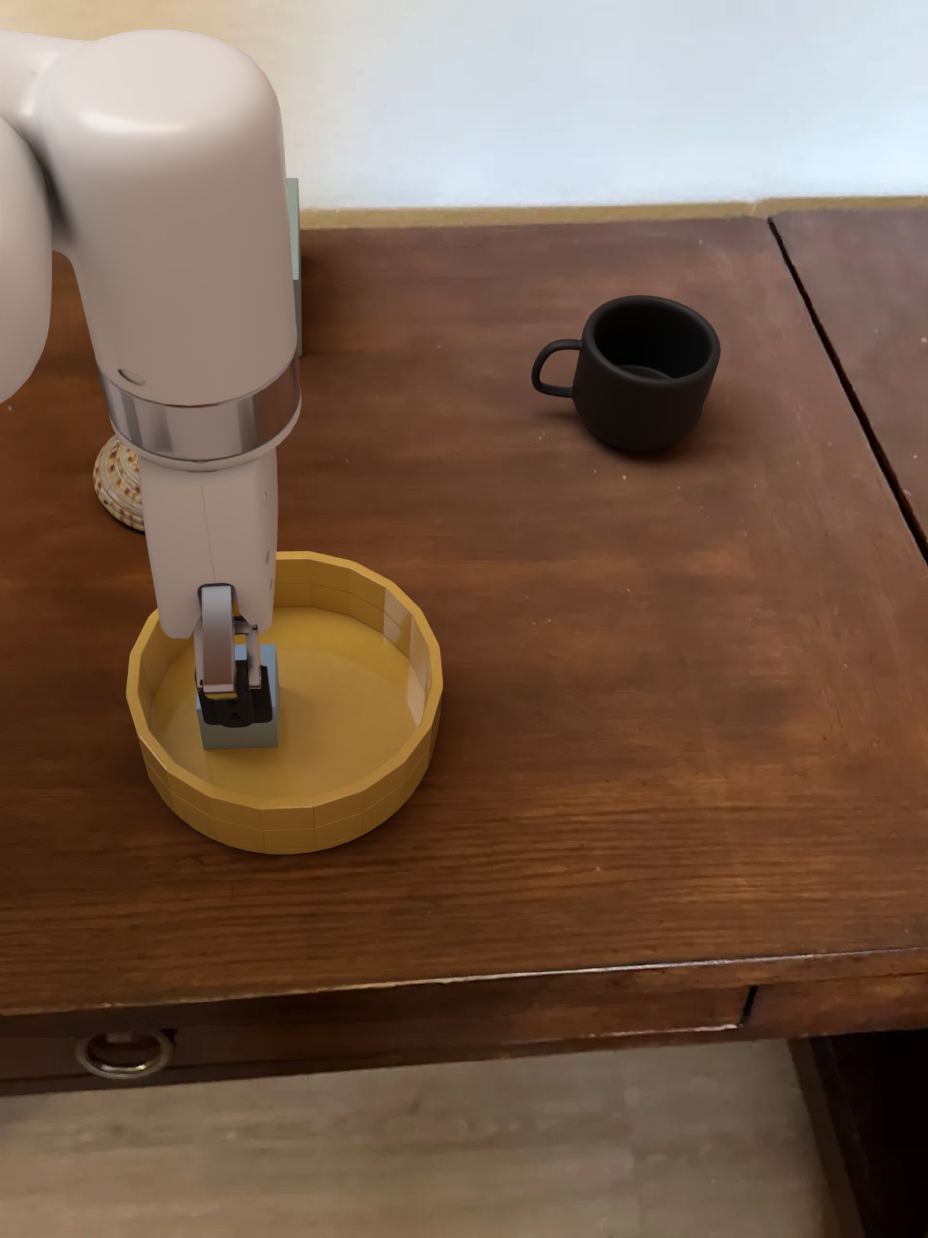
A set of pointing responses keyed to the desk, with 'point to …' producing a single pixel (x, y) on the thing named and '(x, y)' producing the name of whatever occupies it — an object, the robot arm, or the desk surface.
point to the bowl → (301, 714)
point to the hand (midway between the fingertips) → (241, 636)
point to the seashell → (119, 482)
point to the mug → (639, 371)
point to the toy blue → (255, 732)
